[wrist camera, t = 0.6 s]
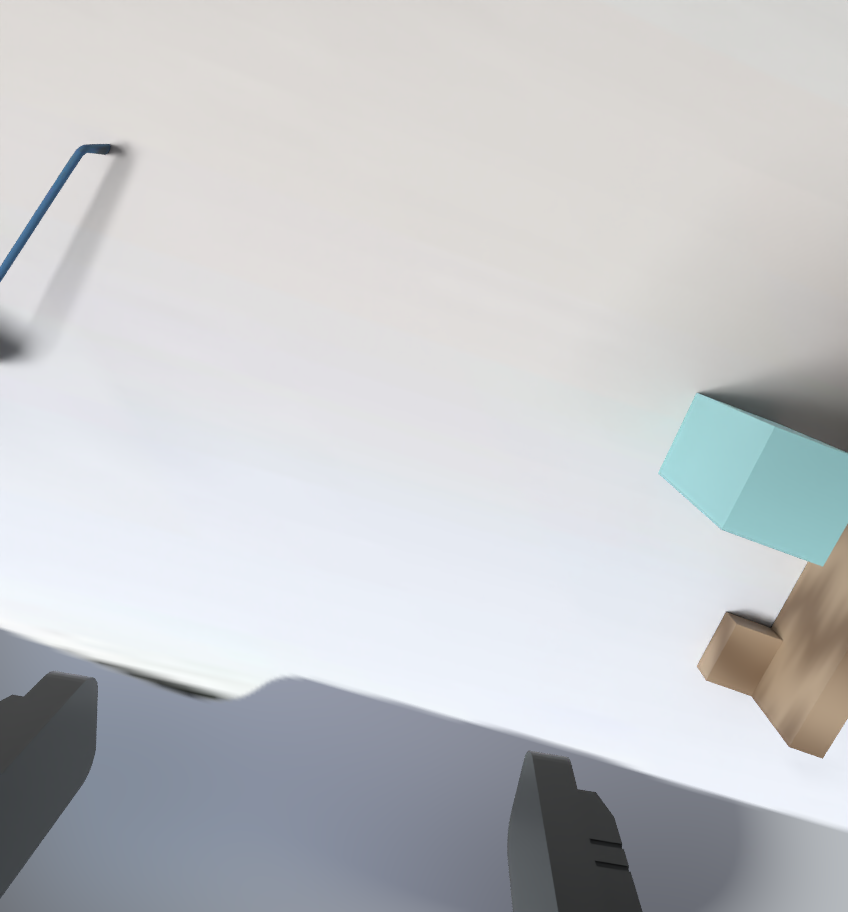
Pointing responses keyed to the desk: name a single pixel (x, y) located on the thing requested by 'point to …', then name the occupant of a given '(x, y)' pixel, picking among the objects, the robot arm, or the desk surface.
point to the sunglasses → (49, 201)
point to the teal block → (760, 479)
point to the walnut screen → (793, 657)
